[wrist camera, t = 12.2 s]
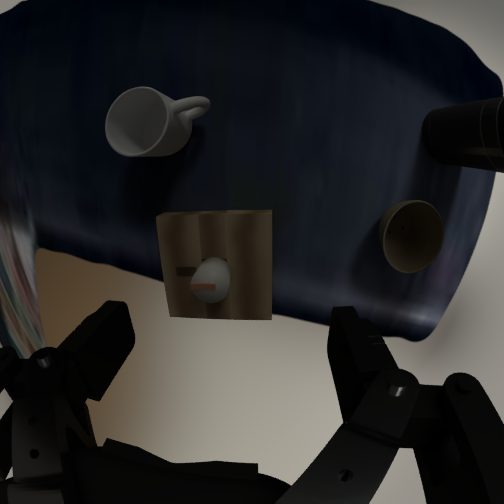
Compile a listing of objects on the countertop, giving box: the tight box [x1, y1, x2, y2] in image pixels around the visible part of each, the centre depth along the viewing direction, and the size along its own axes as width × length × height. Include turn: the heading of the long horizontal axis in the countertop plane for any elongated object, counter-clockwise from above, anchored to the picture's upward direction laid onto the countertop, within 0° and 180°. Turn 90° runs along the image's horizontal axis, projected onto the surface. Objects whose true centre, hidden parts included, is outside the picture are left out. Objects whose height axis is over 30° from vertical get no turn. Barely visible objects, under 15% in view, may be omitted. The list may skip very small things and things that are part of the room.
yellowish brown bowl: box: [378, 200, 444, 274], centre depth 35 cm, size 10×10×7 cm
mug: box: [105, 87, 210, 157], centre depth 31 cm, size 12×8×10 cm
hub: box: [156, 210, 272, 320], centre depth 40 cm, size 16×16×3 cm
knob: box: [190, 257, 232, 303], centre depth 38 cm, size 5×5×8 cm
